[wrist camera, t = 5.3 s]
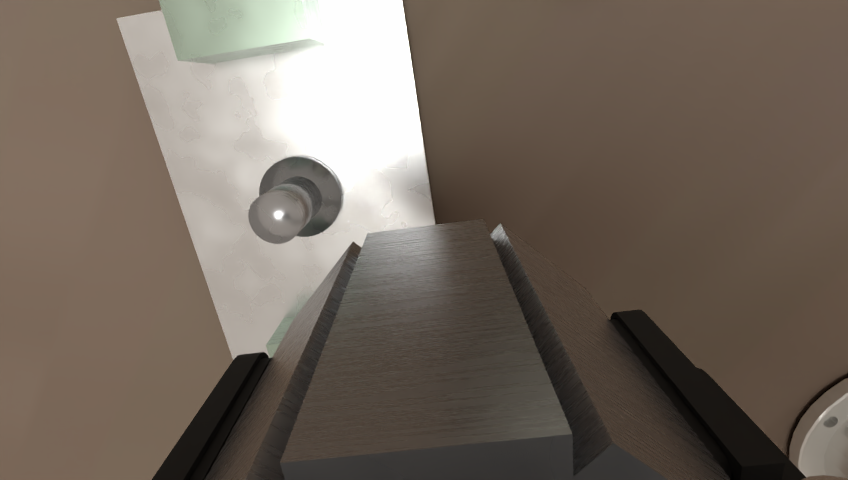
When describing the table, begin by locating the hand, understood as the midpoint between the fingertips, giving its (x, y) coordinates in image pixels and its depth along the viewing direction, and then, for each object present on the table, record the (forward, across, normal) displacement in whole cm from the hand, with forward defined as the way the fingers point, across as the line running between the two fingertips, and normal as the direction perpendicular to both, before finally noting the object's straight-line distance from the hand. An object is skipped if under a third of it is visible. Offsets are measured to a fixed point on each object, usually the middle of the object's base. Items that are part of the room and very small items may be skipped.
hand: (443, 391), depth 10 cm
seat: (+17, +7, -1) cm, 18 cm away
